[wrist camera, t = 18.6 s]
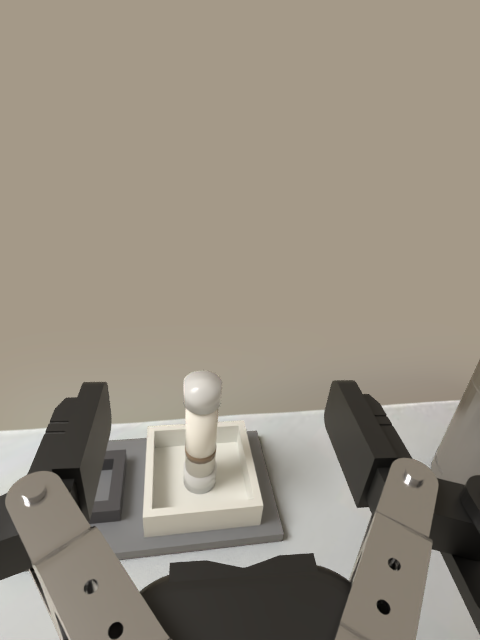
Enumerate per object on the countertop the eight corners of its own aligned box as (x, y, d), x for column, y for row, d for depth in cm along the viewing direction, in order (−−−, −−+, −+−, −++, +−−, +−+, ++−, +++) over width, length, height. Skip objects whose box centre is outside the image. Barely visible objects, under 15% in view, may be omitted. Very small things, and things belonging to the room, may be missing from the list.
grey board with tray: (256, 437, 52) (259, 412, 50) (282, 540, 41) (288, 514, 38) (46, 451, 48) (39, 425, 46) (7, 573, 36) (-5, 545, 34)
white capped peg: (220, 472, 45) (227, 376, 38) (208, 498, 42) (213, 399, 35) (191, 462, 46) (193, 366, 39) (177, 487, 43) (176, 388, 36)
